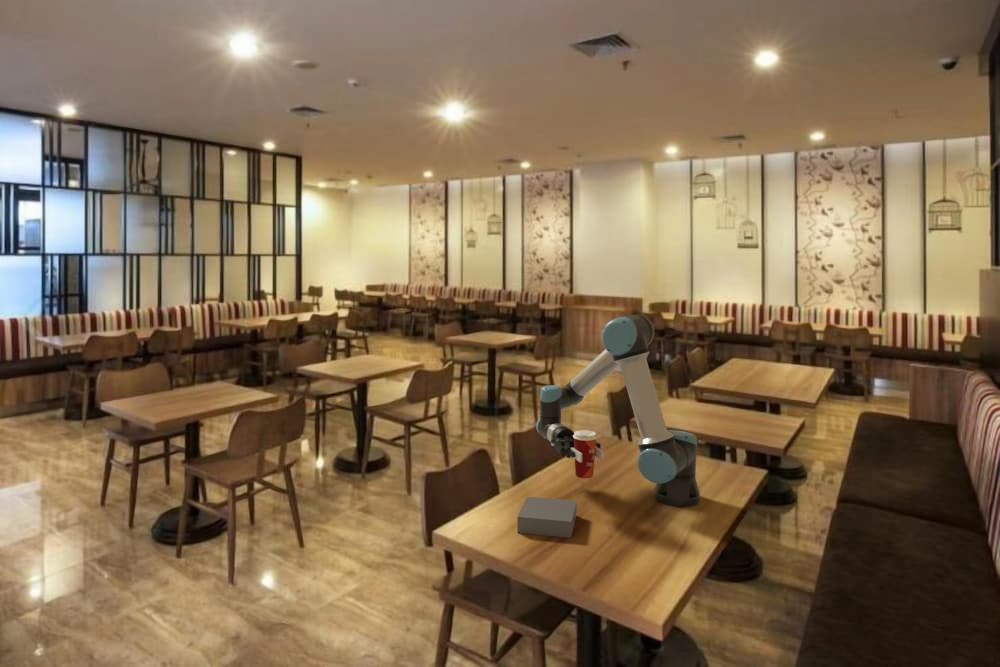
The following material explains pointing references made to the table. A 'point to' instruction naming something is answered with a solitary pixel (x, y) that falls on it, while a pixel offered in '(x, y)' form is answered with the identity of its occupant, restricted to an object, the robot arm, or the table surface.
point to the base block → (547, 517)
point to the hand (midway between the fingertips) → (591, 456)
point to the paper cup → (585, 452)
